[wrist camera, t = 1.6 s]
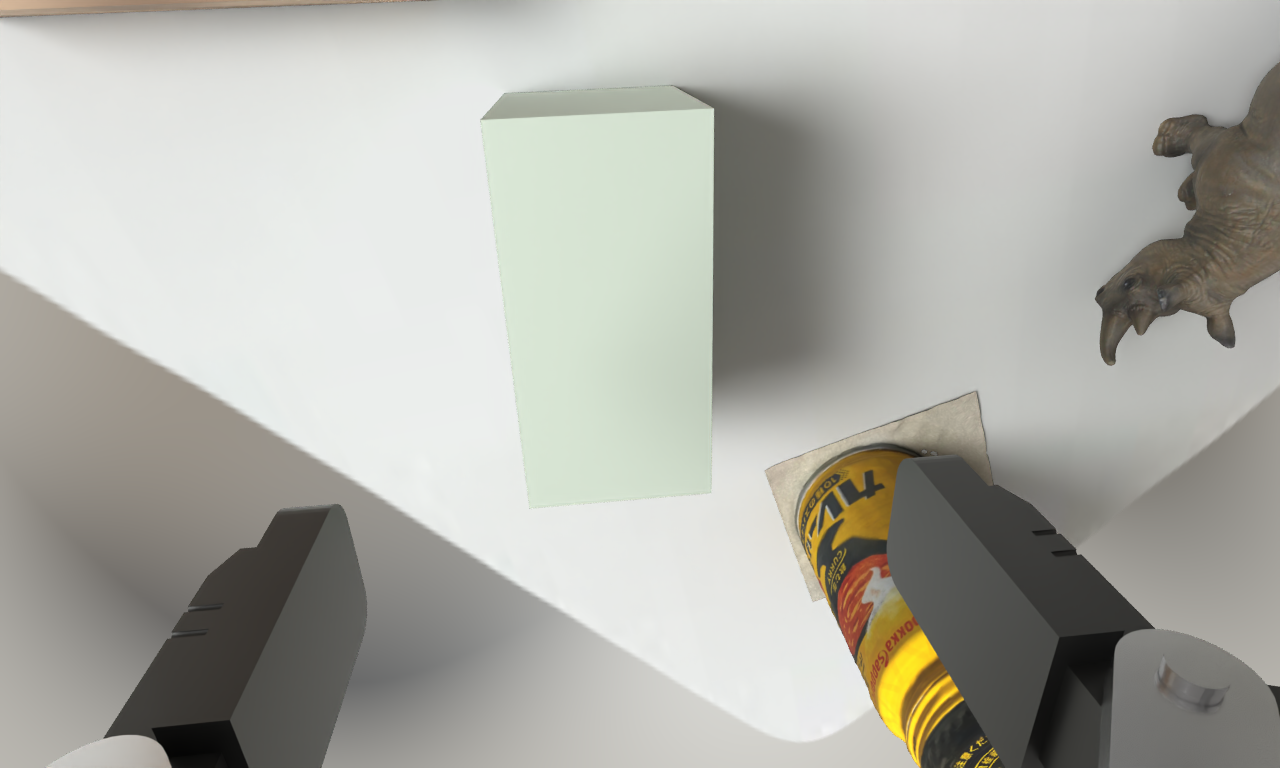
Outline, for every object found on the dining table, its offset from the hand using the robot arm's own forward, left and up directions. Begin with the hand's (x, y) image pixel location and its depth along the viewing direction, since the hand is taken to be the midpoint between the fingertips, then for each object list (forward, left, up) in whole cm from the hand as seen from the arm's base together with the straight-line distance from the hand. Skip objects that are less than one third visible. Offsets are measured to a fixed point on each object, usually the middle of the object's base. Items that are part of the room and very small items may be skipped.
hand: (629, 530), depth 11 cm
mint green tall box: (0, 0, -15) cm, 15 cm away
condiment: (-11, +11, -15) cm, 22 cm away
